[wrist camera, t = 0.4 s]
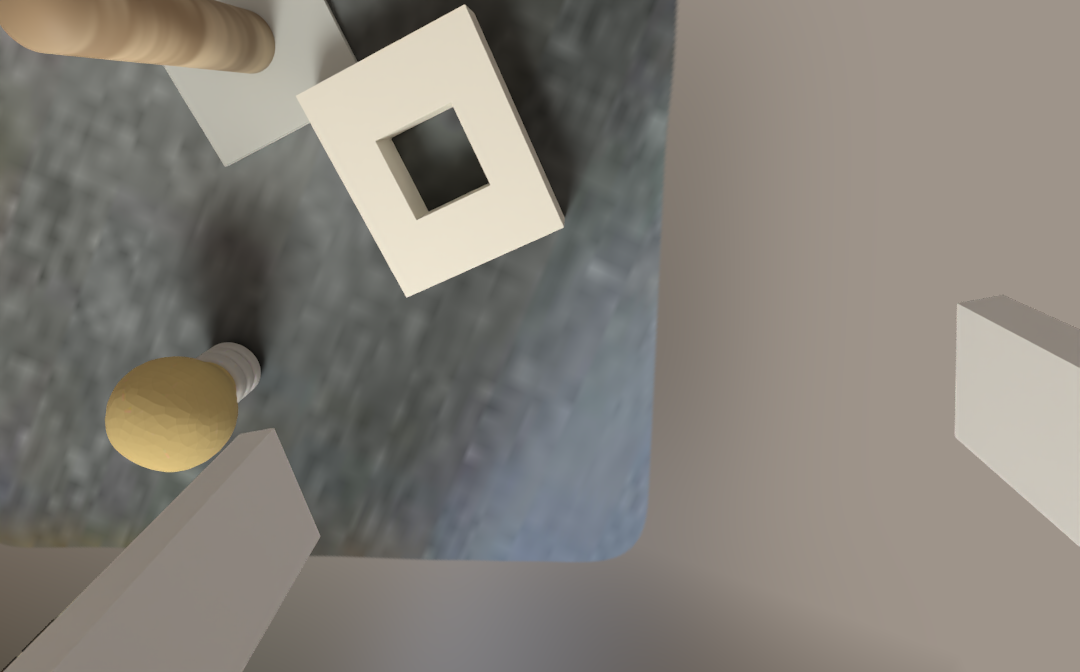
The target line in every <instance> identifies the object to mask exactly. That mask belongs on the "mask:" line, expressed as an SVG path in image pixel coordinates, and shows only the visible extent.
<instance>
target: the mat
mask: <svg viewBox="0 0 1080 672" xmlns="http://www.w3.org/2000/svg"><path fill="white" fill-rule="evenodd" d="M216 1H219V2H223V3H226V4H230V5H233V6H236V7H240V8H243V9H247V10H250V11H253V12H255V13H256V14H258V15H259V16H261V17H262V18H263V19H264V20H265V21H266V22H267V24H268V25H269V27H270V29H271V31H272V33H273V36H274V40H275V53H274V57H273V60H272V62H271V63H270V65H269V66H268V67H267V68H266V69H264V70H263V71H261V72H258V73H253V74H248V73H238V72H228V71H218V70H208V69H198V68H188V67H178V66H168V65H163V66H164V67H165V69H166V71H167V72H168V74H169V76H170V77H171V79H172V80H173V82H174V84H175V85H176V87H177V89H178V90H179V92H180V94H181V95H182V97H183V99H184V100H185V102H186V103H187V105H188V107H189V108H190V110H191V112H192V113H193V115H194V117H195V118H196V120H197V122H198V123H199V125H200V126H201V128H202V130H203V131H204V133H205V135H206V136H207V138H208V140H209V141H210V143H211V145H212V146H213V148H214V150H215V151H216V153H217V154H218V156H219V158H220V159H221V161H222V163H223V164H224V166H225V167H226V166H230V165H232V164H233V163H235V162H237V161H239V160H241V159H243V158H245V157H247V156H249V155H250V154H252V153H254V152H256V151H258V150H260V149H262V148H264V147H266V146H267V145H269V144H271V143H273V142H275V141H277V140H279V139H281V138H283V137H285V136H286V135H288V134H290V133H292V132H294V131H296V130H298V129H300V128H302V127H303V126H305V125H307V124H309V123H310V121H309V120H308V118H307V116H306V114H305V112H304V110H303V109H302V107H301V105H300V103H299V101H298V100H297V98H296V95H298V94H300V93H302V92H304V91H306V90H307V89H309V88H311V87H313V86H315V85H317V84H319V83H320V82H322V81H324V80H326V79H328V78H330V77H331V76H333V75H335V74H337V73H339V72H341V71H343V70H344V69H346V68H348V67H350V66H352V65H354V64H355V63H357V60H356V58H355V56H354V54H353V52H352V50H351V48H350V46H349V44H348V42H347V40H346V38H345V36H344V34H343V32H342V30H341V28H340V26H339V24H338V23H337V21H336V19H335V17H334V15H333V13H332V11H331V9H330V7H329V5H328V3H327V1H326V0H216Z"/></svg>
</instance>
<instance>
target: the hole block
mask: <svg viewBox="0 0 1080 672" xmlns="http://www.w3.org/2000/svg"><path fill="white" fill-rule="evenodd" d="M296 98H297V100H298V101H299V103H300V105H301V107H302V109H303V110H304V112H305V114H306V116H307V118H308V120H309V121H310V123H311V125H312V127H313V129H314V130H315V132H316V134H317V136H318V138H319V140H320V141H321V143H322V145H323V147H324V149H325V150H326V152H327V154H328V156H329V158H330V159H331V161H332V163H333V165H334V167H335V169H336V170H337V172H338V174H339V176H340V178H341V179H342V181H343V183H344V185H345V187H346V189H347V190H348V192H349V194H350V196H351V198H352V199H353V201H354V203H355V205H356V207H357V209H358V210H359V212H360V214H361V216H362V218H363V219H364V221H365V223H366V225H367V227H368V228H369V230H370V232H371V234H372V236H373V238H374V239H375V241H376V243H377V245H378V247H379V248H380V250H381V252H382V254H383V256H384V258H385V259H386V261H387V263H388V265H389V267H390V268H391V270H392V272H393V274H394V276H395V277H396V279H397V281H398V283H399V285H400V287H401V288H402V290H403V292H404V294H405V296H406V297H409V296H411V295H413V294H416V293H418V292H420V291H422V290H425V289H427V288H429V287H431V286H434V285H436V284H438V283H440V282H443V281H445V280H447V279H449V278H452V277H454V276H456V275H458V274H461V273H463V272H465V271H467V270H469V269H472V268H474V267H476V266H478V265H481V264H483V263H485V262H487V261H490V260H492V259H494V258H496V257H499V256H501V255H503V254H505V253H508V252H510V251H512V250H514V249H517V248H519V247H521V246H523V245H526V244H528V243H530V242H532V241H534V240H537V239H539V238H541V237H543V236H546V235H548V234H550V233H552V232H555V231H557V230H559V229H561V228H564V221H565V217H564V215H563V213H562V211H561V208H560V206H559V204H558V202H557V199H556V197H555V195H554V193H553V190H552V188H551V186H550V183H549V181H548V179H547V177H546V174H545V172H544V170H543V168H542V165H541V163H540V161H539V159H538V156H537V154H536V152H535V149H534V147H533V145H532V143H531V140H530V138H529V136H528V134H527V131H526V129H525V127H524V125H523V122H522V120H521V118H520V116H519V113H518V111H517V109H516V106H515V104H514V102H513V100H512V97H511V95H510V93H509V91H508V88H507V86H506V84H505V82H504V79H503V77H502V75H501V73H500V70H499V68H498V66H497V63H496V61H495V59H494V57H493V54H492V52H491V50H490V48H489V45H488V43H487V41H486V39H485V36H484V34H483V32H482V30H481V27H480V25H479V23H478V20H477V18H476V16H475V14H474V12H473V11H471V10H470V9H469V8H468V7H467V6H466V5H465V4H464V5H462V6H461V7H459V8H457V9H455V10H453V11H451V12H450V13H448V14H446V15H444V16H442V17H440V18H438V19H437V20H435V21H433V22H431V23H429V24H427V25H426V26H424V27H422V28H420V29H418V30H416V31H414V32H413V33H411V34H409V35H407V36H405V37H403V38H402V39H400V40H398V41H396V42H394V43H392V44H391V45H389V46H387V47H385V48H383V49H381V50H379V51H378V52H376V53H374V54H372V55H370V56H368V57H367V58H365V59H363V60H361V61H359V62H357V63H355V64H354V65H352V66H350V67H348V68H346V69H344V70H343V71H341V72H339V73H337V74H335V75H333V76H331V77H330V78H328V79H326V80H324V81H322V82H320V83H319V84H317V85H315V86H313V87H311V88H309V89H307V90H306V91H304V92H302V93H300V94H298V95H296ZM452 107H454V109H455V112H456V114H457V116H458V118H459V120H460V122H461V124H462V126H463V128H464V131H465V133H466V135H467V137H468V139H469V141H470V143H471V145H472V147H473V150H474V152H475V154H476V156H477V158H478V160H479V162H480V164H481V166H482V169H483V171H484V173H485V175H486V177H487V179H488V181H489V183H488V184H486V185H484V186H481V187H479V188H477V189H475V190H473V191H471V192H469V193H467V194H465V195H462V196H460V197H458V198H456V199H454V200H452V201H450V202H448V203H446V204H443V205H441V206H439V207H437V208H435V209H433V210H431V211H428V209H427V207H426V206H425V204H424V202H423V200H422V198H421V196H420V194H419V192H418V190H417V188H416V186H415V184H414V182H413V180H412V178H411V176H410V174H409V172H408V170H407V169H406V167H405V165H404V163H403V161H402V159H401V157H400V155H399V153H398V151H397V149H396V147H395V145H394V143H393V141H392V139H391V138H393V137H395V136H397V135H399V134H401V133H402V132H404V131H406V130H408V129H410V128H412V127H414V126H416V125H418V124H420V123H422V122H424V121H426V120H428V119H430V118H432V117H434V116H436V115H438V114H440V113H442V112H444V111H446V110H448V109H450V108H452Z"/></svg>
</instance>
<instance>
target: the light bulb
mask: <svg viewBox="0 0 1080 672" xmlns="http://www.w3.org/2000/svg"><path fill="white" fill-rule="evenodd" d="M260 377H261V369H260V365H259V362H258V360H257V358H256V357H255V355H254V354H253V353H252V352H251V351H250V350H248V349H247V348H246V347H244V346H242V345H239V344H237V343H232V342H225V343H219V344H217V345H215V346H213V347H212V348H210V349H209V350H208V351H206V352H204V353H203V354H201V355H200V356H199V357H197V358H195V359H194V358H189V357H164V358H159V359H155V360H151V361H148V362H146V363H144V364H142V365H140V366H138V367H136V368H134V369H133V370H132V371H130V372H129V373H128V374H127V375H125V376H124V377H123V378H122V379H121V380H120V382H119V383H118V384H117V385H116V387H115V388H114V390H113V392H112V394H111V396H110V398H109V401H108V403H107V409H106V417H105V424H106V432H107V435H108V438H109V440H110V442H111V444H112V445H113V446H114V448H115V449H116V450H117V451H118V452H119V453H121V454H122V455H123V456H124V457H126V458H127V459H129V460H130V461H132V462H134V463H136V464H138V465H140V466H143V467H146V468H148V469H152V470H157V471H163V472H177V471H183V470H187V469H190V468H193V467H195V466H197V465H199V464H202V463H203V462H205V461H207V460H208V459H210V458H211V457H212V456H213V455H215V454H216V453H217V452H219V451H220V450H221V448H222V447H223V446H224V445H225V444H226V442H227V441H228V440H229V438H230V436H231V435H232V432H233V430H234V428H235V425H236V421H237V416H238V402H239V401H240V400H241V399H243V398H244V397H245V396H246V395H247V394H248V393H249V392H251V391H252V390H253V389H254V388H255V387H256V386H257V384H258V383H259V380H260Z"/></svg>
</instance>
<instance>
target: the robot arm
mask: <svg viewBox="0 0 1080 672" xmlns="http://www.w3.org/2000/svg"><path fill="white" fill-rule="evenodd" d="M956 337H957V339H956V341H957V342H956V392H955V393H956V394H955V438H957V439H958V440H959V441H960V442H961V443H962V444H963V445H965V446H966V447H967V448H968V449H969V450H970V451H971V452H972V453H974V454H975V455H976V456H977V457H978V458H979V459H980V460H982V461H983V462H984V463H985V464H986V465H987V466H988V467H989V468H991V469H992V470H993V471H994V472H995V473H997V475H999V476H1000V477H1001V478H1002V479H1003V480H1004V481H1006V482H1007V483H1008V484H1009V485H1010V486H1011V487H1012V488H1013V489H1014V490H1016V491H1017V492H1018V493H1019V494H1020V495H1021V496H1022V497H1024V498H1025V499H1026V500H1027V501H1028V502H1029V503H1030V504H1032V505H1033V506H1034V507H1035V508H1036V509H1037V510H1038V511H1040V512H1041V513H1042V514H1043V515H1044V516H1045V517H1046V518H1047V519H1049V520H1050V521H1051V522H1052V523H1053V524H1054V525H1055V526H1057V527H1058V528H1059V529H1060V530H1061V531H1062V532H1063V533H1065V534H1066V535H1067V536H1068V537H1069V538H1070V539H1071V540H1072V541H1074V542H1075V543H1076V544H1077V545H1078V546H1079V547H1080V329H1078V328H1076V327H1074V326H1071V325H1069V324H1067V323H1064V322H1062V321H1060V320H1058V319H1056V318H1054V317H1051V316H1049V315H1047V314H1045V313H1042V312H1040V311H1038V310H1036V309H1034V308H1031V307H1029V306H1027V305H1024V304H1022V303H1020V302H1018V301H1016V300H1014V299H1011V298H1009V297H1007V296H1004V295H1000V296H994V297H989V298H983V299H979V300H972V301H967V302H962V303H958V304H957V336H956ZM319 538H320V534H319V532H318V530H317V527H316V525H315V523H314V520H313V518H312V516H311V513H310V511H309V509H308V506H307V504H306V502H305V499H304V497H303V494H302V492H301V490H300V487H299V485H298V483H297V480H296V478H295V476H294V473H293V471H292V469H291V466H290V464H289V462H288V459H287V457H286V455H285V452H284V450H283V448H282V445H281V443H280V441H279V438H278V436H277V434H276V431H275V429H274V428H271V429H265V430H260V431H254V432H249V433H243V434H239V435H238V436H237V437H236V438H235V439H234V440H233V441H232V442H231V443H230V444H229V445H228V446H227V447H226V448H225V449H224V450H223V451H222V452H221V453H220V454H219V455H218V456H217V457H216V458H215V459H214V460H213V461H212V462H211V463H210V464H209V465H208V466H207V467H206V468H205V469H204V470H203V471H202V472H201V473H200V474H199V475H198V476H197V477H196V478H195V479H194V480H193V481H192V482H191V483H190V484H189V485H188V486H187V487H186V489H185V490H184V491H183V492H182V493H181V494H180V495H179V496H178V497H177V498H176V499H175V500H174V501H173V502H172V503H171V504H170V505H169V506H168V507H167V508H166V509H165V510H164V511H163V512H162V513H161V514H160V515H159V516H158V517H157V518H156V519H155V520H154V521H153V522H152V523H151V524H150V525H149V526H148V527H147V528H146V529H145V530H144V531H143V532H142V533H141V534H140V535H139V536H138V537H137V538H136V539H135V540H134V541H133V542H132V543H131V544H130V545H129V546H128V547H127V548H126V549H125V550H124V551H123V552H122V553H121V554H120V555H119V556H118V557H117V558H116V559H115V560H114V561H113V562H112V563H111V564H110V565H109V566H108V567H107V568H106V569H105V570H104V571H103V572H102V573H101V574H100V575H99V576H98V577H97V578H96V579H95V580H94V581H93V582H92V583H91V584H90V585H89V586H88V587H87V588H86V589H85V590H84V591H83V592H82V593H81V594H80V595H79V596H78V597H77V598H76V599H75V600H74V601H73V602H72V603H71V604H70V605H69V606H68V607H67V608H66V609H65V610H64V611H63V612H62V613H61V614H60V615H59V616H57V617H56V618H55V619H53V620H52V621H51V622H50V623H49V624H48V625H47V626H46V627H45V628H44V629H43V630H42V631H41V632H40V633H39V634H38V635H37V636H36V637H35V638H34V639H33V640H32V641H31V642H30V643H29V644H28V645H27V646H26V647H25V648H24V649H23V650H22V653H21V654H20V655H19V656H18V657H15V658H14V659H13V660H12V661H11V662H10V663H9V664H8V665H7V666H6V667H5V668H4V669H3V670H2V671H1V672H242V671H243V669H244V667H245V666H246V664H247V662H248V661H249V659H250V657H251V655H252V654H253V652H254V650H255V649H256V647H257V645H258V643H259V642H260V640H261V638H262V636H263V635H264V633H265V631H266V630H267V628H268V626H269V624H270V623H271V621H272V619H273V617H274V616H275V614H276V612H277V610H278V609H279V607H280V605H281V603H282V602H283V600H284V598H285V597H286V595H287V593H288V591H289V589H290V588H291V586H292V585H293V583H294V581H295V579H296V577H297V576H298V574H299V572H300V571H301V569H302V567H303V565H304V564H305V562H306V560H307V559H308V557H309V555H310V553H311V552H312V550H313V548H314V546H315V545H316V543H317V541H318V540H319Z"/></svg>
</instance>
